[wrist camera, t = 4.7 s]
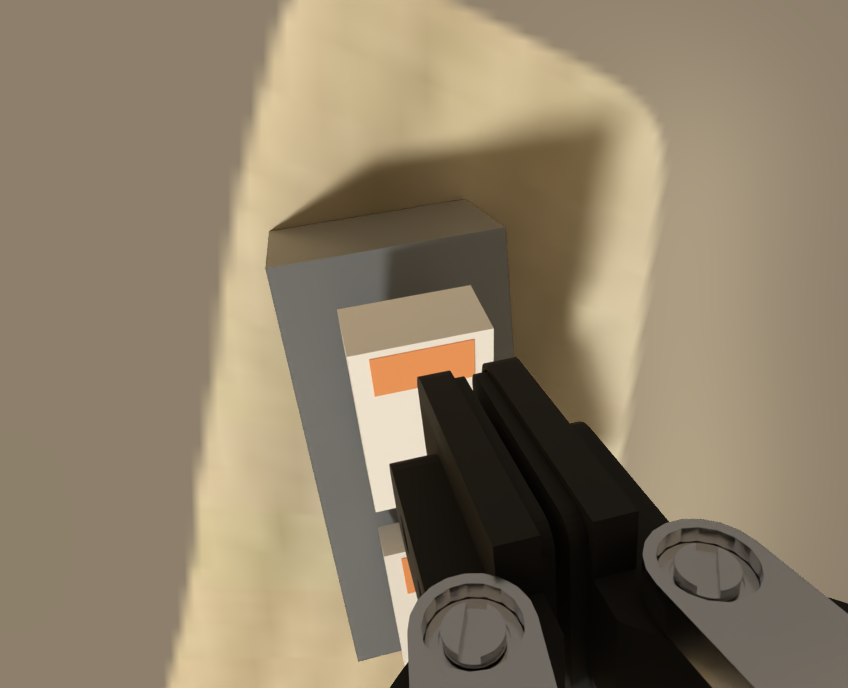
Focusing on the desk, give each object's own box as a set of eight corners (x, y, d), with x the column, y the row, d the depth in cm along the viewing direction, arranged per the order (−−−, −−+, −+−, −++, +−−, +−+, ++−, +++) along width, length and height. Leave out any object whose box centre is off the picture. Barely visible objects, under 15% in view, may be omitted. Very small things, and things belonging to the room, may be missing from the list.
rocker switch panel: (505, 614, 31) (545, 713, 26) (364, 651, 30) (379, 760, 25) (469, 198, 22) (520, 232, 17) (269, 231, 21) (264, 276, 16)
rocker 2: (503, 654, 23) (521, 694, 21) (407, 680, 22) (416, 724, 20) (480, 503, 21) (496, 530, 19) (377, 527, 21) (384, 557, 19)
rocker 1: (473, 438, 20) (492, 486, 19) (365, 461, 20) (376, 513, 18) (470, 284, 17) (494, 329, 15) (337, 309, 16) (347, 357, 14)
